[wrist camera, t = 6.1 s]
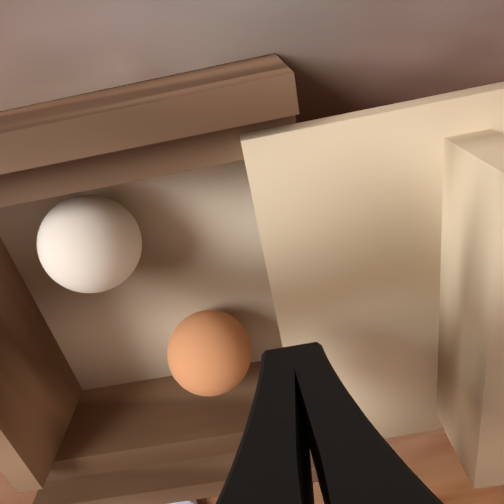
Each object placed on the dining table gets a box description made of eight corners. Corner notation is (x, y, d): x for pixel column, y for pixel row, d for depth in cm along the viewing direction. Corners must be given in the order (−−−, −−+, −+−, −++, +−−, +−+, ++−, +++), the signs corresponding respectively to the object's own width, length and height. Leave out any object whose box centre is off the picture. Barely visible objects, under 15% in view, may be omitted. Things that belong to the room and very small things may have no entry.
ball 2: (256, 348, 17) (260, 407, 15) (184, 360, 18) (175, 421, 15) (241, 287, 16) (243, 341, 13) (163, 301, 16) (148, 357, 13)
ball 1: (160, 253, 15) (144, 303, 12) (79, 268, 15) (46, 321, 13) (133, 172, 14) (109, 210, 11) (43, 190, 14) (-2, 231, 11)
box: (323, 375, 19) (348, 477, 15) (81, 414, 19) (39, 522, 15) (275, 53, 12) (294, 72, 8) (-80, 128, 13) (-222, 180, 9)
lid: (592, 390, 14) (674, 477, 12) (301, 435, 15) (315, 528, 12) (687, 44, 9) (873, 57, 7) (240, 134, 10) (241, 180, 7)
